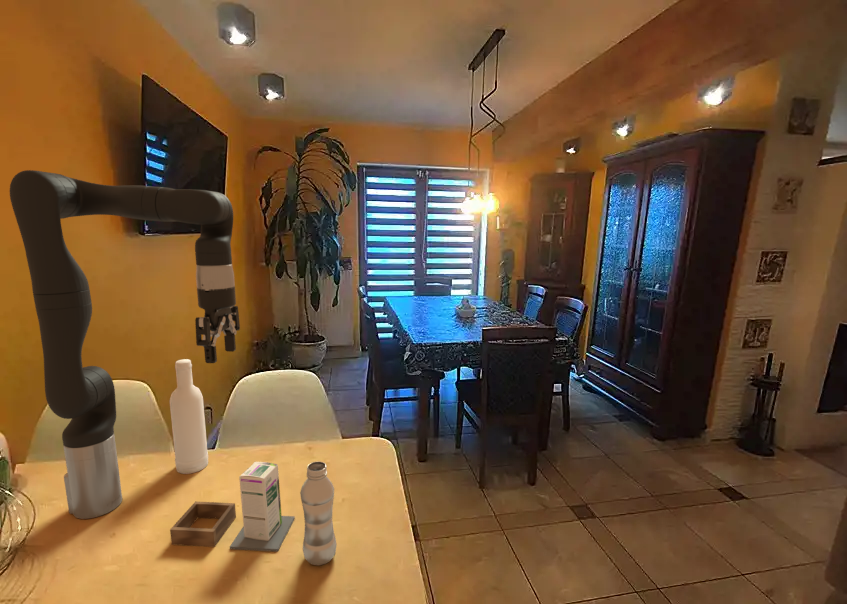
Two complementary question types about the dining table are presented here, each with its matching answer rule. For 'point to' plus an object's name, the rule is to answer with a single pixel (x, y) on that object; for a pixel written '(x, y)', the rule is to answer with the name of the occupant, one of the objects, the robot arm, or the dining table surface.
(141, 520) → the dining table surface
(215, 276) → the robot arm
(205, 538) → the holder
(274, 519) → the syrup box
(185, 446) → the bottle
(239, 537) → the coaster
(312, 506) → the plastic bottle
